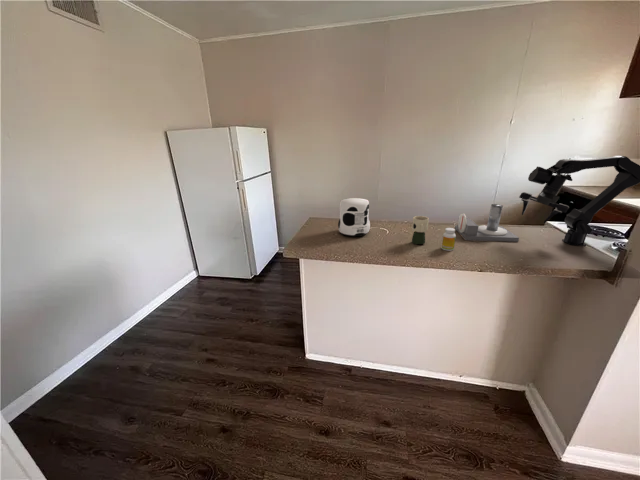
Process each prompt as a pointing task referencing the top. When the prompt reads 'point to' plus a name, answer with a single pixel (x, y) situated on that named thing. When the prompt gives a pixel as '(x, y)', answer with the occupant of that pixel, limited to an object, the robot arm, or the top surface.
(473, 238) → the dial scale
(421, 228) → the character mug
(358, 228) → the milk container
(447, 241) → the supplement bottle
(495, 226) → the ball
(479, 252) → the top surface
